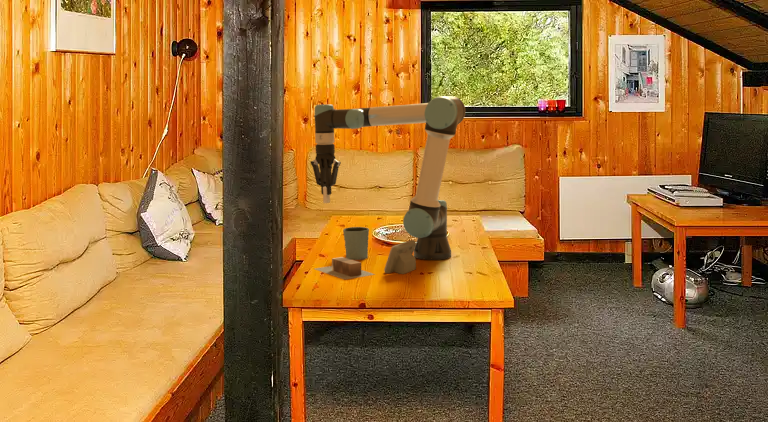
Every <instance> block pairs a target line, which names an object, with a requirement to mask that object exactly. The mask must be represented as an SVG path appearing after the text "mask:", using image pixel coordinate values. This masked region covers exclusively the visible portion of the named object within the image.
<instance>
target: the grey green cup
mask: <svg viewBox="0 0 768 422" xmlns="http://www.w3.org/2000/svg"><path fill="white" fill-rule="evenodd" d="M342 232H343V238H344V249H345V258H347V259H351V260H354V261H359V260H361V261H362V260H366V259H368V257H369V254H368V253H369V252H368V251H369V248H368V247H369V235H370V233H369V232H370V228H368V227H365V226H364V227H363V226H351V227H346V228H343V231H342Z"/></svg>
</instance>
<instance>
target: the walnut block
mask: <svg viewBox="0 0 768 422" xmlns="http://www.w3.org/2000/svg"><path fill="white" fill-rule="evenodd" d="M331 266H332V270H333V271H336V272H339V273H342V274H345V275H348V276H351V277H352V276H358V275H361V270H362V262H360V261H358V260H351V259H347V258H346V257H344V256H339V257H333V258H331Z"/></svg>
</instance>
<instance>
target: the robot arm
mask: <svg viewBox="0 0 768 422" xmlns="http://www.w3.org/2000/svg"><path fill="white" fill-rule="evenodd" d="M465 116H466V105H465V104H464V102H463V101H462V100H461V99H460V98H459V97H457V96H454V95H447V96H446V95H440V96H436V97H434V98H433V99H431V100H430V101H428V102H424V103H413V104H412V103H411V104H400V105H388V106H386V105H385V106H371V107H357V108H347V109H345V108H344V109H343V108H341V109H336V108H334V105H333V104H330V103H329V104H326V103H325V104H316V105H315V106H314V136H315V137H314V138H315V140H314V141H315V159H313V160H312V161H310V165H311V167H312V169H313V174H314V178H315V181H316V185H317V186H320V188H321V191H320V192H321V193H320V194H321V195H322V203H323V204H330V203H331V195H332V187H333V186H335V185H336V184H337V179H338V173H339V168H340V166H341V161H339V160H337V159H336V156H335V152H336V149H335V147H336V146H335V144H334V143H335V130H336V129H343V130H344V129H351V130H355V129H361V128H366V127H378V126H394V125H397V126H398V125H412V124H424V125H425V127H424V131H425V133H426V134H427V137H426V142H425V146H424V151H423V155H422V156H423V157H422V162H421V168H420V170H419V171H420V172H419V177H418V183H417V186H416V191H415V195H414V196H413V197H412V198H411V199H410V200H409V201H410V202H409V208H408V210H407V211H406V212H405V214H404V216H403V218H402V219H403V221H402V224H403V227H404V230H405V231H406V233H408V235H410V236H411V237H413V238H416V241H415V242H416V245H415V248H414V251H413V256H414V257H415V259H419V260H426V261H436V260H446V259H449V258H451V257H452V249H451V248H452V247H451V246H450V243H449V239H448V203H447V201H446V200H444V199H439V195H440V190H441V186H442V182H443V181H442V179H443V177H444V176H443V175H444V170H445V166H446V161H447V155H448V153H449V151H448V150H449V148H450V147H449V146H450V141H451V139H452V138H453V137H455V136H456V132H457V128H458V125H460V124H461V123H462V122H463V120H464V118H465Z"/></svg>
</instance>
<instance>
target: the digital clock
mask: <svg viewBox="0 0 768 422" xmlns="http://www.w3.org/2000/svg"><path fill="white" fill-rule="evenodd" d="M416 242H417V241H415V240H413V239H411V240H408V241H404V242H401V243H399V244H395V245H392V246H391V248H390V251H389V253H388V257H387V260H386V263H385V266H384V270H383V271H384V273H385V274H392V273H396V274H399V275H401V274H402V275H405V274H408V273H410V272H412V271H414V270H416V268H417V266H416V265H417V263H416V261H417V258H415V257H414V248H415V245H416Z"/></svg>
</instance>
